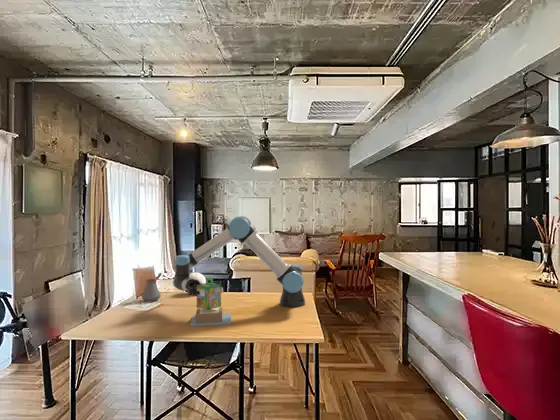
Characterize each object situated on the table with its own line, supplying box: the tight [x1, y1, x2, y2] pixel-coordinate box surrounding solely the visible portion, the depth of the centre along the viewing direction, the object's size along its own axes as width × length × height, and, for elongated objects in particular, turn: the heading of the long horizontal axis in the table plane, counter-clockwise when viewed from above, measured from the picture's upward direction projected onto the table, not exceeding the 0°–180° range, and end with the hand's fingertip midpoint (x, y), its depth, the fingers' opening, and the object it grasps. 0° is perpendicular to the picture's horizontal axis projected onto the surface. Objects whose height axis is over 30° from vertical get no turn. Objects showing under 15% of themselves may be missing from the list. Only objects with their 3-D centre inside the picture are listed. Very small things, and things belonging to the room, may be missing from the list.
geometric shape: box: [190, 271, 207, 284], centre depth 268 cm, size 14×15×15 cm
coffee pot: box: [141, 272, 163, 302], centre depth 254 cm, size 21×12×15 cm, turn 173°
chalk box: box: [196, 277, 222, 310], centre depth 203 cm, size 9×9×15 cm
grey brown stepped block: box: [189, 306, 232, 327], centre depth 203 cm, size 20×16×6 cm
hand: (213, 292), depth 200 cm, fingers closed on chalk box, 10 cm apart
